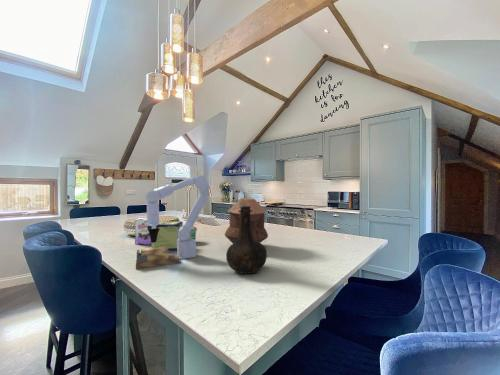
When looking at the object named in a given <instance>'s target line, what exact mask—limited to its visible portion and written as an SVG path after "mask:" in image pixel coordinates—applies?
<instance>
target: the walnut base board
mask: <svg viewBox="0 0 500 375" xmlns="http://www.w3.org/2000/svg"><path fill="white" fill-rule="evenodd" d="M175 264H180V259H179V256H178V255H177V253H175V254H168V258H167V259H159V260H151V261H147V262H143V263H137V258H136V259H135V270H140V269H146V268H153V267H161V266H167V265H175Z"/></svg>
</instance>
